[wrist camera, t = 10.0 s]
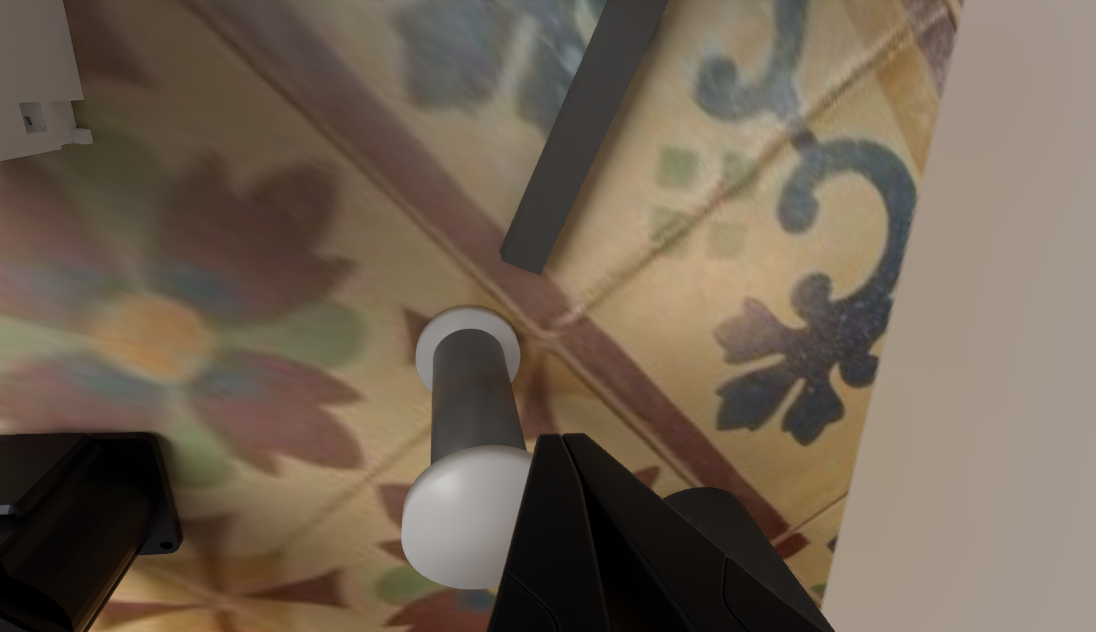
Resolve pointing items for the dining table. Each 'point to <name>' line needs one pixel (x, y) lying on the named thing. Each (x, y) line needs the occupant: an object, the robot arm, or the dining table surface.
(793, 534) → the dining table surface
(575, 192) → the dark grey rectangular bar
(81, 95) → the circuit breaker
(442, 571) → the cord spool
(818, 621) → the travel mug
